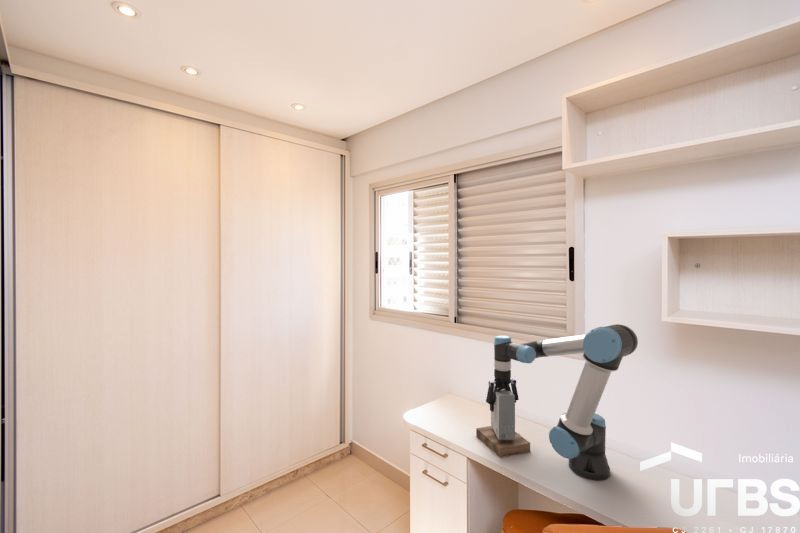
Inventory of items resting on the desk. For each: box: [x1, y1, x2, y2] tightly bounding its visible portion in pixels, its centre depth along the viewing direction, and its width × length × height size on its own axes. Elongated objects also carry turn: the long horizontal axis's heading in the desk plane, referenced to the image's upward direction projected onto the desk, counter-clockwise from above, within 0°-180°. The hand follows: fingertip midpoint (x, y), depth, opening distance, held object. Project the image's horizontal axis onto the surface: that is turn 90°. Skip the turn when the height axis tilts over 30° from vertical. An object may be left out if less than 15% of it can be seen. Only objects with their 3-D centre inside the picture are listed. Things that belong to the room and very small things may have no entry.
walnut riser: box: [475, 425, 531, 458], centre depth 167 cm, size 20×16×4 cm
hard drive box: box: [490, 386, 516, 440], centre depth 167 cm, size 16×8×20 cm, turn 179°
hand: (502, 416), depth 167 cm, fingers closed on hard drive box, 9 cm apart
